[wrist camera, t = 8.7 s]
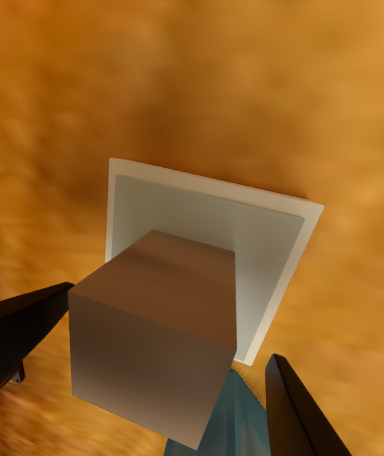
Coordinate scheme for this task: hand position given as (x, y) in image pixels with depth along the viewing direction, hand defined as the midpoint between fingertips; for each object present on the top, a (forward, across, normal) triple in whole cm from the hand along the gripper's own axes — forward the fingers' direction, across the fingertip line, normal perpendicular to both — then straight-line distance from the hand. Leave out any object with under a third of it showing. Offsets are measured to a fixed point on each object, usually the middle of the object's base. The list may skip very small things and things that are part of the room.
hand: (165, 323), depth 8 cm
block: (+4, 0, 0) cm, 4 cm away
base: (+6, 0, 0) cm, 6 cm away
